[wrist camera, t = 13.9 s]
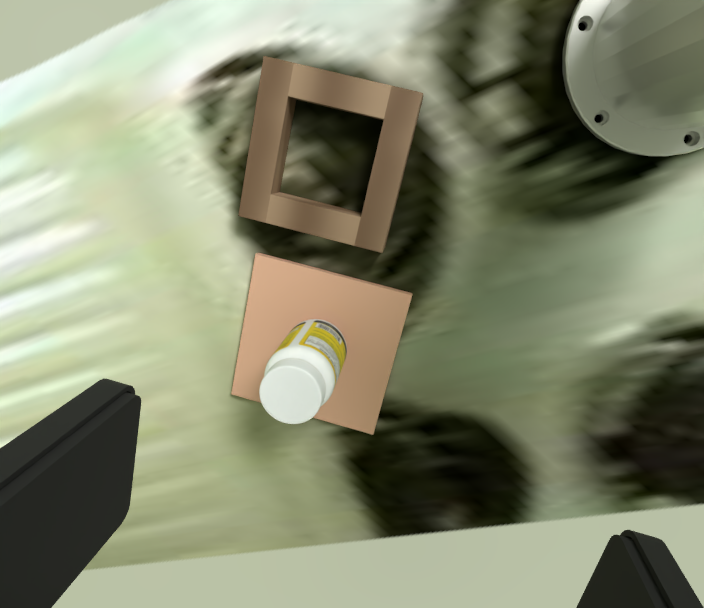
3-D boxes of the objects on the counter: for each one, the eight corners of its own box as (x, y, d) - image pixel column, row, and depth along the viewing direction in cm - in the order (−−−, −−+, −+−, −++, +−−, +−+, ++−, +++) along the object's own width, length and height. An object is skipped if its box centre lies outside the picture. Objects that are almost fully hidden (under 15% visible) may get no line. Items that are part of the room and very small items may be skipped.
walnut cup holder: (423, 96, 34) (422, 93, 32) (385, 247, 37) (382, 253, 35) (273, 61, 34) (263, 55, 32) (249, 212, 38) (238, 215, 36)
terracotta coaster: (412, 293, 37) (412, 295, 37) (373, 430, 41) (373, 434, 41) (258, 252, 38) (255, 254, 38) (233, 391, 42) (231, 394, 41)
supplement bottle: (292, 376, 40) (258, 431, 32) (283, 319, 39) (245, 362, 31) (351, 373, 39) (331, 429, 31) (344, 315, 38) (321, 358, 30)
